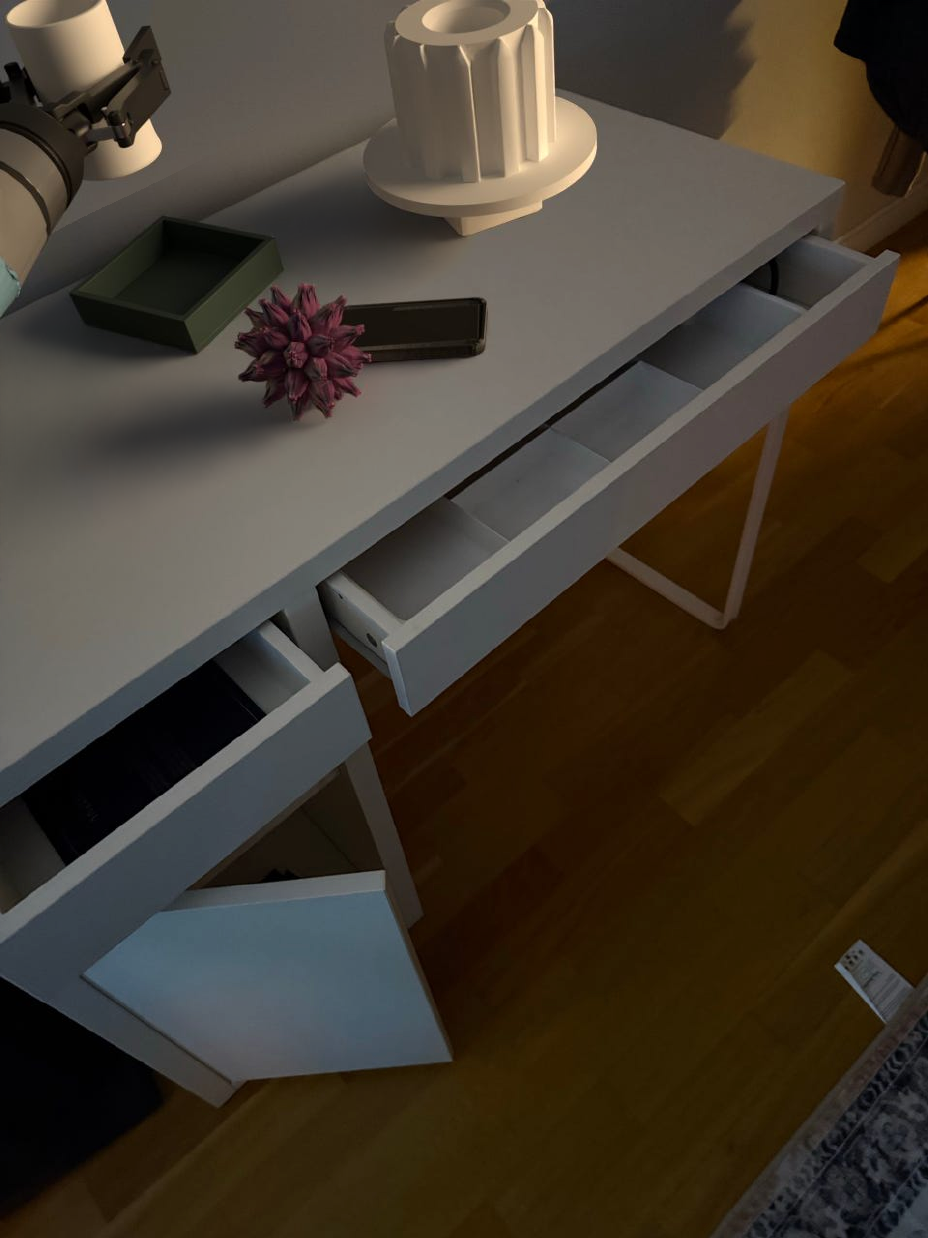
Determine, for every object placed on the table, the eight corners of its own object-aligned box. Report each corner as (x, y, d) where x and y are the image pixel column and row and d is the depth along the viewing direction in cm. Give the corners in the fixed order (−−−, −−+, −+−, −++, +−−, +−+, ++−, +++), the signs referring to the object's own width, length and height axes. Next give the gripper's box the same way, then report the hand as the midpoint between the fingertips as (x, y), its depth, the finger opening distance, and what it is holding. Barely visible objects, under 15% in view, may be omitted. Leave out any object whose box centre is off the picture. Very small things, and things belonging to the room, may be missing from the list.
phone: (483, 345, 84) (326, 353, 86) (484, 355, 85) (329, 363, 87) (487, 295, 89) (338, 304, 91) (488, 305, 90) (341, 314, 92)
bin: (84, 324, 96) (67, 292, 93) (174, 246, 104) (162, 214, 101) (197, 354, 90) (184, 321, 87) (284, 269, 98) (275, 236, 95)
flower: (362, 456, 81) (228, 442, 80) (376, 367, 88) (253, 353, 87) (363, 353, 71) (211, 335, 71) (379, 261, 78) (240, 245, 77)
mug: (97, 122, 87) (37, -24, 77) (182, 115, 86) (131, -34, 76) (55, 185, 80) (-17, 33, 70) (147, 178, 78) (86, 22, 69)
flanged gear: (532, 129, 111) (523, -54, 96) (639, 218, 97) (648, 18, 82) (344, 192, 107) (304, 10, 92) (426, 295, 92) (394, 99, 77)
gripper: (-83, 235, 71) (17, 103, 84) (170, 214, 68) (231, 81, 82) (-145, 137, 65) (-27, 12, 78) (130, 110, 62) (203, -15, 76)
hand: (105, 47), depth 80 cm, fingers closed on mug, 8 cm apart
